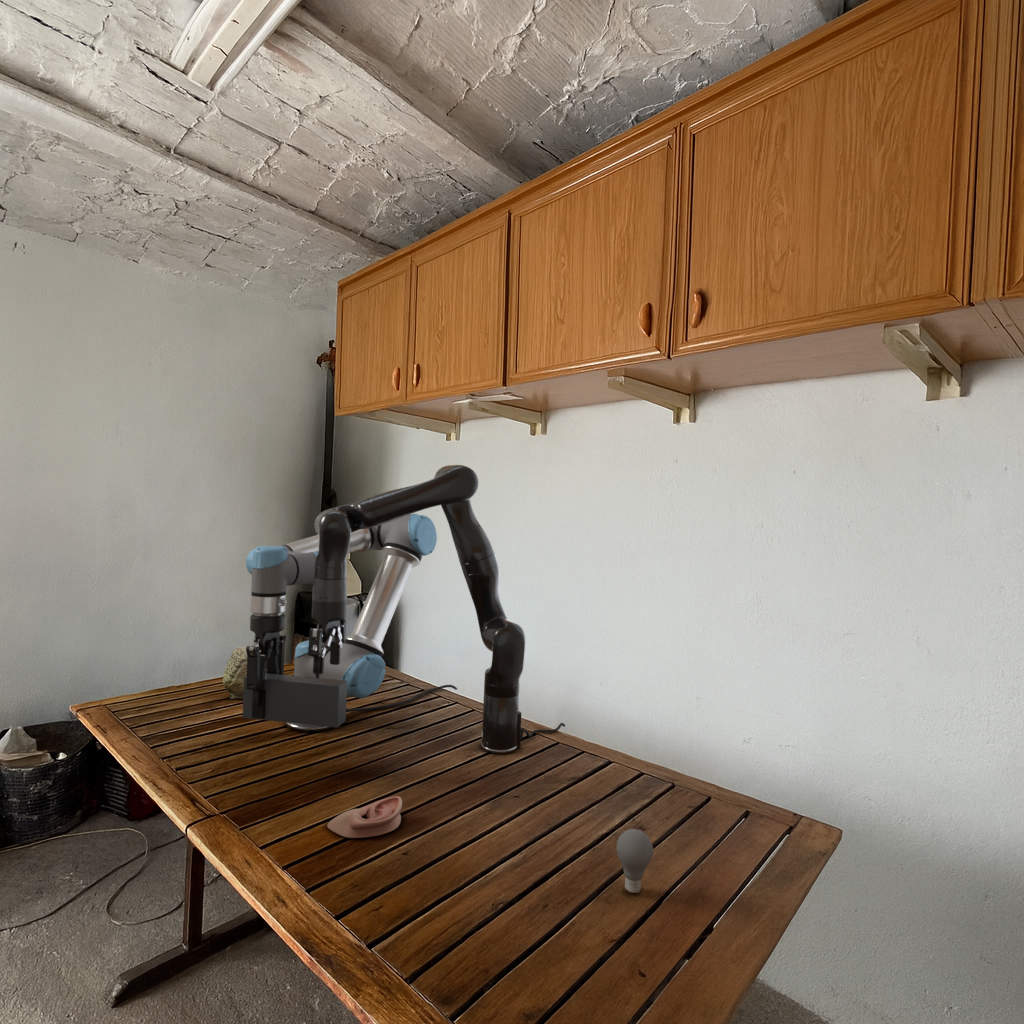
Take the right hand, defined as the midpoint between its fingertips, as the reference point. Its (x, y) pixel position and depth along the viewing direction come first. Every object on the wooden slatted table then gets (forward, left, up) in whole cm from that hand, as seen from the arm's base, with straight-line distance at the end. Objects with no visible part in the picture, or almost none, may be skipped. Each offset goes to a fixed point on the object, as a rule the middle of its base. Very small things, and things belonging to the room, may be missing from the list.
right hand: (326, 668), depth 144 cm
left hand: (+12, -9, -12) cm, 19 cm away
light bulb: (-39, +63, -24) cm, 78 cm away
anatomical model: (-3, +25, -24) cm, 35 cm away
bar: (+6, -4, -12) cm, 14 cm away
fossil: (+9, -65, -24) cm, 70 cm away
